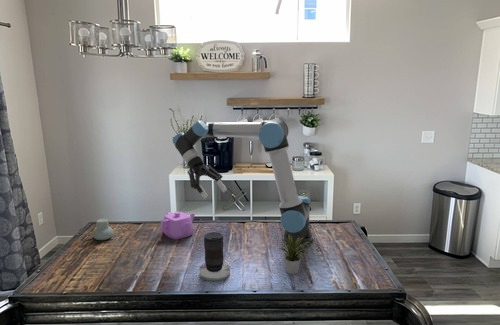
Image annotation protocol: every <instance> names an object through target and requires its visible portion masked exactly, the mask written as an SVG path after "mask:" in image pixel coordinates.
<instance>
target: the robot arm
mask: <svg viewBox="0 0 500 325" xmlns="http://www.w3.org/2000/svg"><path fill="white" fill-rule="evenodd" d="M289 132H290V131H289V126H288V125H287V123H286V122H285V121H284V120H281V119H270V120H269V119H268V120H262V121H260V122H213V121H212V122H211V121H202V120H197V121H196V122H194V123H193V124H192V126H190V128H189V129H188V130H187V131H185V133H184V132H179V133H177V134H175V135H174V136H173V138H172V144H174V145H173V146H174V147H175V149H176V150H177V151H178V153H179V154H180V155H181V157H182V159H183V160H184V161H185V164H187V167H188V168H189V169H188V171H187V174H188V176H189V182H190V188H192V189H194V190H197V192H198V193H199V194H200V195H201V197H202V198H203V199H204V200H206V199H207V198H208V196H209V195H208V193H207V192H206V190H205V189H204V187H203V186H202V185H201V184H200V180H201V179H200V178H201V177H202V176H205V177H208V178H210V179H212V180H214V181H216V184H217V186H218V188H220V190H221V192H222V193H225V192H227V190H228V189H227V187H226V185H225V184H224V182H223V180H222V178H223V175H222V174H221V173H219V172H218V171H217V170H216V169H214V168H213V167H212V166H211V165H210V164H208V163H207V165H205V164H204V160H203V159H202V158H201V156H200V155H199V153H198V152H197V150H196V149H195V147H194V146H195V145H196V144H197V143H198V142H199V141H201V140H202V139H205V138H209V137H210V138H215V137H219V138H258V139H259V142H260V144H262V146H263V149H264V152H265V153H266V154H268V156H269V160H270V163H271V167H272V168H271V169H272V171H273V175H274V180H275V183H276V187H277V191H278V195H279V196H278V197H279V199H280V203H279V205H278V207H279V211H280V225H281V227H282V229H284V231H283V235H282V239H283V240H284V241H285V242H286V241H287V242H286V243H289V240H288V236H289V235H290V237H291V236H292V239H293V245H294V243H295V242H296V240H297V239H298V237H299V236H300V237H299V239H301V238H302V237H303V239H302V240H301V242H300V244H299V245H301V244H303V243H305V244H307V243H306V242H310V243H311V242H312V240H313V234H312V231H311V226H310V211H311V209H310V208H311V206H310V205H311V200H310V198H309V197H308V196H305V195H304V196H303V195H298V190H297V187H296V183H295V178H294V175H293V170H292V167H291V163H290V158H289V155H288V154H289V153H288V152H287V151H288V148H289V146H290V145H289V141H288V138H287V137H288V136H289ZM298 241H299V240H298Z"/></svg>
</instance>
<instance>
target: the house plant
mask: <svg viewBox="0 0 500 325" xmlns="http://www.w3.org/2000/svg"><path fill="white" fill-rule="evenodd" d="M299 237H300V236H299ZM299 237H298V239H297V240H296V242H295V243H294V244H293V239H292V236H291V237H290V235H289V236H288V240H289V242H287V241H285V240H284V239H283V238H281V241H283V243H282V246H284V247H279V248H278V249H279V250H281V251H284V252H285V253H284V264H285V270H286V273H288V274H289V275H296V274H297V273H298V272H299V269H300V264H301V260H302V259H301V257H302V258H303V259H304V254H303V253H307V251H306V250H307V248H304V246H308V245H309V246H310V244H309V243H311V242H306V244H305V243H303V244H300V242H301V240H302V239H303V237H302V238H301V239H299ZM298 240H299V241H298ZM300 256H301V257H300Z"/></svg>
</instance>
